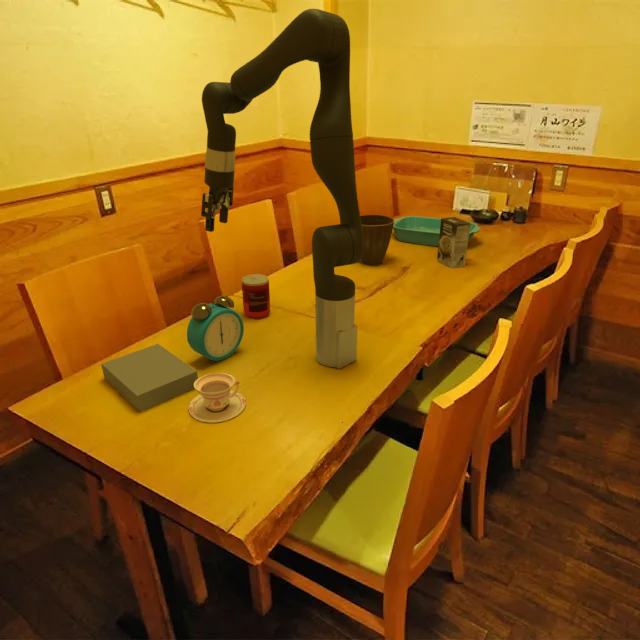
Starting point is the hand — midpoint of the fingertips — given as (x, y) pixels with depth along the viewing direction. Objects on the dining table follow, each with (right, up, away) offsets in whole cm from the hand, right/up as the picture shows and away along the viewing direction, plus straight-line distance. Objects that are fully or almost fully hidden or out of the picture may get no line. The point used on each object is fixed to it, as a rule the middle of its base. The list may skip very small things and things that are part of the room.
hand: (216, 226), depth 141 cm
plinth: (-10, -40, -23) cm, 47 cm away
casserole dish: (+76, +8, +76) cm, 108 cm away
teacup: (+6, -44, -31) cm, 54 cm away
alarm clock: (+3, -34, -12) cm, 37 cm away
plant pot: (+47, -4, +51) cm, 70 cm away
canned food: (+10, -24, +10) cm, 28 cm away
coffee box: (+76, -5, +49) cm, 91 cm away
